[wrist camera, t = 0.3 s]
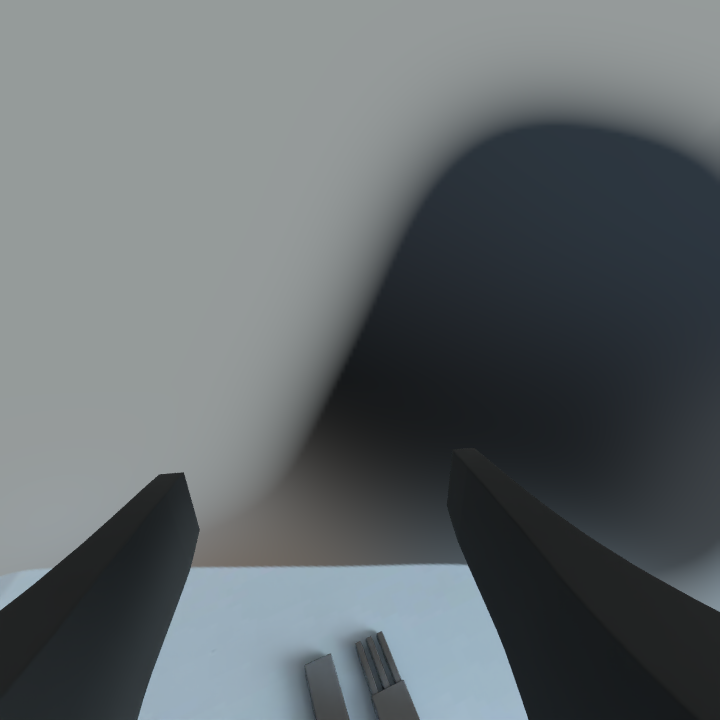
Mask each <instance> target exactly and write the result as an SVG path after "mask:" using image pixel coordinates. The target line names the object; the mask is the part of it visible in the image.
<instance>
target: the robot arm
mask: <svg viewBox="0 0 720 720" xmlns="http://www.w3.org/2000/svg"><path fill="white" fill-rule="evenodd" d="M447 507H448V511H449V514H450V518H451V521H452V524H453V527H454V531H455V534H456V537H457V540H458V543H459V545H460V547H461V550H462V552H463V554H464V556H465V559H466V561H467V564H468V566H469V568H470V571H471V573H472V575H473V577H474V580H475V582H476V584H477V586H478V589H479V591H480V593H481V595H482V598H483V600H484V602H485V604H486V607H487V609H488V611H489V613H490V616H491V618H492V620H493V623H494V625H495V627H496V629H497V632H498V634H499V637H500V639H501V642H502V644H503V647H504V649H505V652H506V655H507V658H508V661H509V664H510V666H511V669H512V672H513V675H514V678H515V681H516V684H517V687H518V690H519V692H520V695H521V698H522V701H523V704H524V707H525V710H526V713H527V716H528V719H529V720H720V612H718V611H716V610H715V609H713V608H711V607H709V606H707V605H705V604H703V603H701V602H699V601H697V600H695V599H694V598H692V597H690V596H688V595H686V594H685V593H683V592H681V591H679V590H677V589H676V588H674V587H672V586H670V585H668V584H667V583H665V582H663V581H661V580H659V579H658V578H656V577H654V576H652V575H650V574H649V573H647V572H645V571H644V570H642V569H640V568H638V567H637V566H635V565H633V564H632V563H630V562H628V561H627V560H625V559H623V558H622V557H620V556H619V555H617V554H616V553H614V552H613V551H611V550H609V549H608V548H606V547H605V546H603V545H601V544H600V543H598V542H596V541H595V540H594V539H592V538H591V537H589V536H588V535H586V534H585V533H583V532H582V531H580V530H579V529H577V528H576V527H575V526H573V525H572V524H570V523H569V522H568V521H566V520H565V519H563V518H562V517H560V516H559V515H558V514H556V513H555V512H554V511H552V510H551V509H549V508H548V507H547V506H545V505H544V504H543V503H541V502H540V501H539V500H538V499H536V498H535V497H533V496H532V495H531V494H530V493H529V492H527V491H526V490H525V489H524V488H522V487H521V486H520V485H519V484H517V483H516V482H515V481H514V480H512V479H511V478H510V477H509V476H507V475H506V474H505V473H504V472H503V471H501V470H500V469H499V468H498V467H497V466H495V465H494V464H493V463H492V462H491V461H489V460H488V459H487V458H486V457H484V456H483V455H482V454H481V453H479V452H478V451H477V450H476V449H474V448H468V449H456V450H452V460H451V471H450V481H449V490H448V500H447ZM198 534H199V526H198V522H197V518H196V515H195V511H194V508H193V504H192V500H191V497H190V493H189V490H188V486H187V482H186V479H185V475H184V473H172V474H160V475H158V476H157V477H156V478H155V479H154V480H152V481H151V482H150V483H149V484H148V485H147V486H146V487H145V488H143V489H142V490H141V491H140V492H139V493H138V494H137V495H136V496H135V497H134V498H133V499H131V500H130V501H129V502H128V503H127V504H126V505H125V506H124V507H123V508H122V509H120V511H118V512H117V513H116V514H115V515H114V516H113V517H112V518H111V519H110V520H108V521H107V522H106V523H105V524H104V525H103V526H102V527H101V528H99V529H98V530H97V531H96V532H95V533H94V534H93V535H92V536H91V537H89V538H88V539H87V540H86V541H85V542H84V543H83V544H81V545H80V546H79V547H78V548H77V549H76V550H74V551H73V552H72V553H71V554H70V555H68V556H67V557H66V558H65V559H64V560H62V561H61V562H60V563H59V564H58V565H56V566H55V567H54V568H53V569H52V570H50V571H49V572H48V573H47V574H46V575H44V576H43V577H42V578H41V579H40V580H38V581H37V582H36V583H35V584H34V585H32V586H31V587H30V588H29V589H27V590H26V591H25V592H24V593H22V594H21V595H20V596H18V597H17V598H16V599H15V600H13V601H12V602H11V603H9V604H8V605H7V606H6V607H4V608H3V609H2V610H0V720H137V719H138V716H139V712H140V709H141V705H142V702H143V698H144V695H145V692H146V689H147V686H148V683H149V680H150V677H151V674H152V671H153V669H154V666H155V663H156V661H157V658H158V655H159V653H160V650H161V647H162V645H163V642H164V639H165V636H166V634H167V631H168V628H169V626H170V623H171V620H172V618H173V615H174V612H175V610H176V607H177V604H178V602H179V599H180V596H181V593H182V591H183V588H184V585H185V582H186V580H187V577H188V574H189V571H190V568H191V564H192V560H193V556H194V552H195V547H196V543H197V539H198Z"/></svg>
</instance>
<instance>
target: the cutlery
mask: <svg viewBox="0 0 720 720" xmlns="http://www.w3.org/2000/svg"><path fill="white" fill-rule="evenodd" d="M377 639H378V641H379V644H380V646H381V649H382V651H383V654H384V657H385V659H386V662H387V664H388V667H389V669H390V672H391V675H392V677H393V680H394V682H395V684H394V685H392V686H390V684H389V682H388V679H387V676H386V674H385V671H384V668H383V666H382V663H381V660H380V658H379V655H378V652H377V650H376V647H375V644H374V642H373V639H372V637H371V636H370V637H368V638H366V642H367V645H368V648H369V651H370V654H371V656H372V659H373V662H374V665H375V667H376V670H377V673H378V676H379V678H380V681H381V684H382V687H383V689H384V690H382V691H380V692H378V689H377V686H376V684H375V681H374V678H373V675H372V672H371V669H370V666H369V664H368V661H367V658H366V655H365V652H364V649H363V646H362V644H361V641H359V642H357V643H355V647H356V650H357V653H358V656H359V659H360V662H361V665H362V668H363V671H364V674H365V677H366V680H367V683H368V686H369V689H370V692H371V695H372V703H373V706H374V709H375V712H376V715H377V718H378V720H420V719H419V716H418V714H417V711H416V709H415V707H414V704H413V702H412V699H411V697H410V694H409V692H408V689H407V687H406V684H405V682H404V680H401V677H400V675H399V672H398V670H397V667H396V665H395V662H394V660H393V657H392V655H391V653H390V650H389V648H388V645H387V643H386V640H385V638H384V635H383V633H382V631H381V632H379V633H377ZM305 672H306V677H307V681H308V686H309V691H310V695H311V700H312V704H313V709H314V714H315V718H316V720H349V716H348V712H347V709H346V705H345V702H344V698H343V694H342V691H341V687H340V684H339V680H338V677H337V673H336V669H335V666H334V662H333V659H332V655H331V654H328V655H326V656H324V657H322V658H319V659H317V660H315V661H313V662H311V663H308V664H306V665H305Z"/></svg>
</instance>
